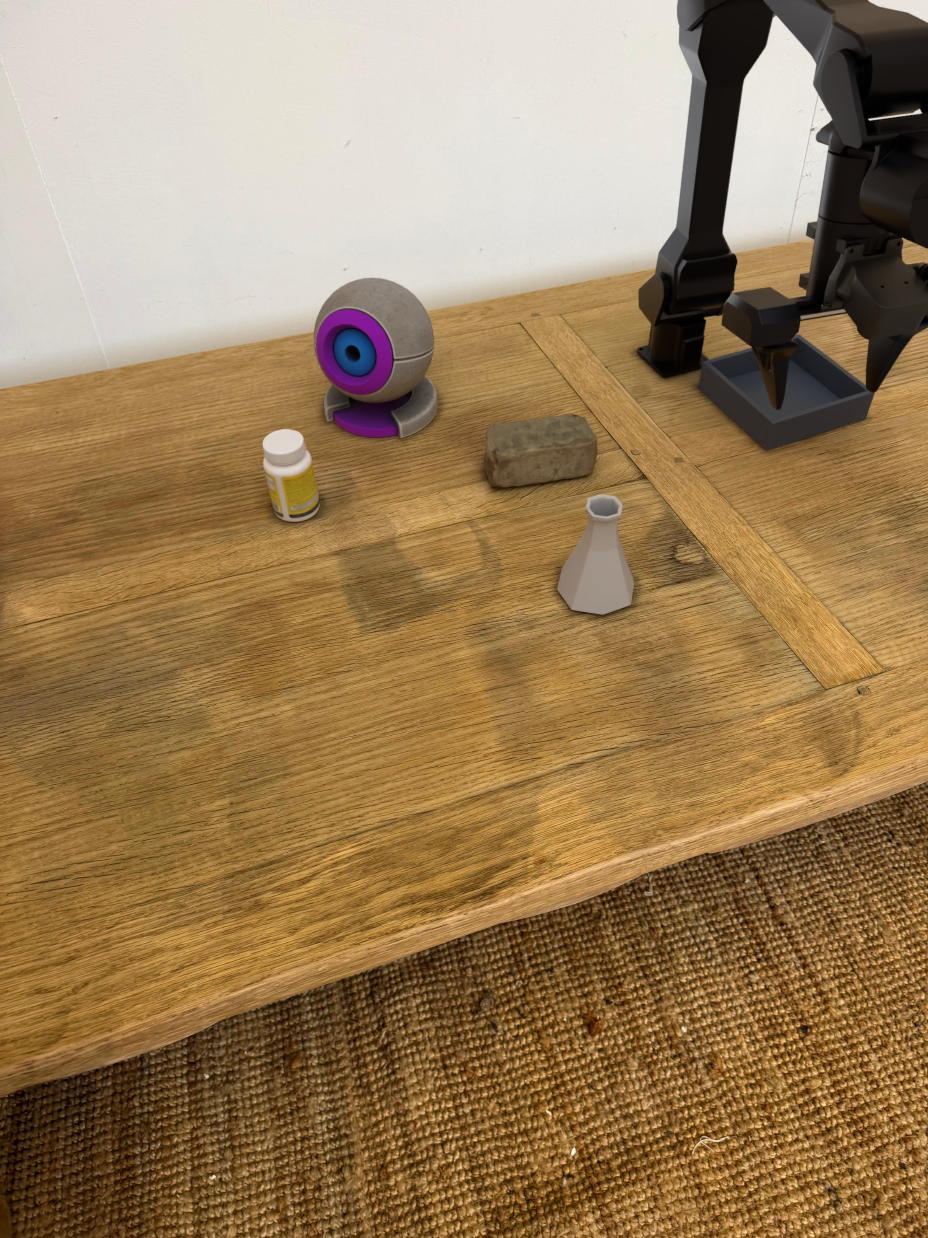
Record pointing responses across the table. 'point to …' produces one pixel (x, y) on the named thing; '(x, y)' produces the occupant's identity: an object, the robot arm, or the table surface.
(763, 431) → the dark grey square tray
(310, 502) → the supplement bottle
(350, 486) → the table surface
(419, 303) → the webcam
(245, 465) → the table surface
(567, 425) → the stone block
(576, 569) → the flask
